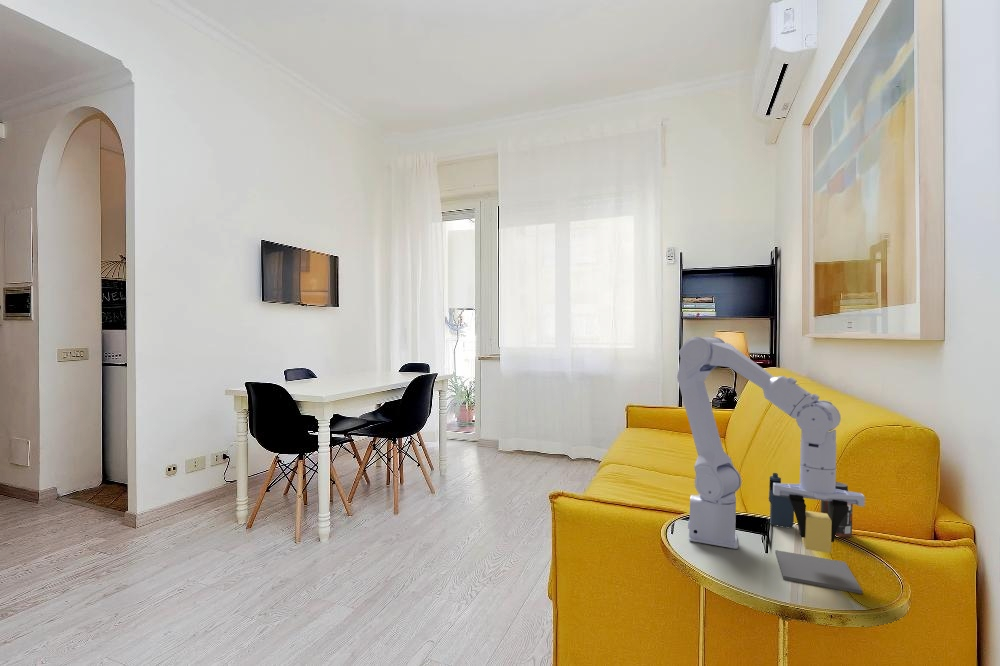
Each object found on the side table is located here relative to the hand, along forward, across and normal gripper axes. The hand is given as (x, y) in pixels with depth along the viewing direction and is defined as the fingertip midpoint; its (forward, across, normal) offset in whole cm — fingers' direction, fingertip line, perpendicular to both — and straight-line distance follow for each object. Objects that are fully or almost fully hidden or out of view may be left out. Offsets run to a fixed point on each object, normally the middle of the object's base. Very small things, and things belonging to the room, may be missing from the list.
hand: (816, 537), depth 94 cm
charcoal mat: (+6, 0, 0) cm, 6 cm away
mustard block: (+2, 0, 0) cm, 2 cm away
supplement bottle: (+7, +8, +24) cm, 26 cm away
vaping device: (+7, -3, +24) cm, 25 cm away
